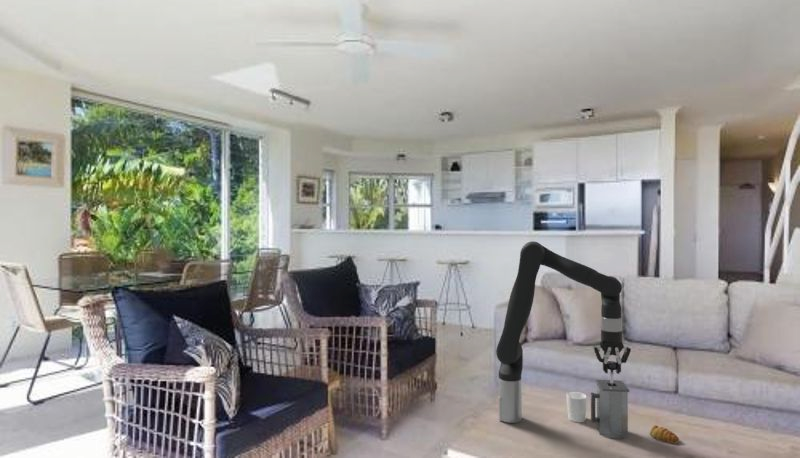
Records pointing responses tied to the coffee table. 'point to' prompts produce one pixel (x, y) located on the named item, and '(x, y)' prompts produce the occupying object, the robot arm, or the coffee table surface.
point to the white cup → (576, 406)
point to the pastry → (663, 435)
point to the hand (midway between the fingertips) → (611, 372)
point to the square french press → (611, 409)
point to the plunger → (611, 367)
